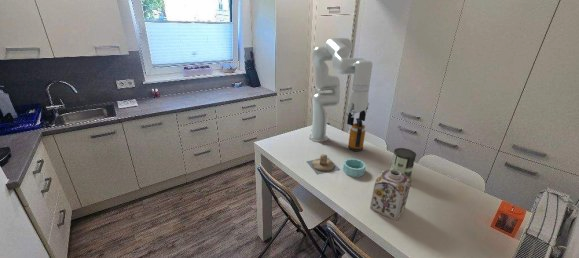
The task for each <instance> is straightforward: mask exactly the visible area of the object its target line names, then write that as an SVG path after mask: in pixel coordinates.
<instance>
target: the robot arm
mask: <svg viewBox="0 0 579 258" xmlns="http://www.w3.org/2000/svg"><path fill="white" fill-rule="evenodd" d="M352 48H353V44H352V41H351V39H349V38H348V37H331V38H329V39H327V41H326V42H325V45H321V46H316V47H314V49H313V50H312V54H311V55H312V62H313V66H314V67H313V68H314V89H316V90H317V91H322V92H318V93H315V94H313V96H312V125H311V129H310V130H311V133H310V134H309V136H308V137H309V139H310V140H311V141H313V142H317V143H321V142H322V143H323V142H327V140H328V139H329V137H328V135H327V125H328V112H327V111H326V109H325V108H335V107H338V106H339V104H340V99H341V98H340V97H341V96H340V94H341V92H340V91H341V81H340V78H339V76H337V75H335V74H331V75H329V66H328V64H327V63H326V62H331V63H332V68H333V70H335V71H336V73H338V74H340V75H353V79H352V86H351V87H352V88H351V92H350V95H349V98H348V105H347V108H346V109H345V112H346V115H347V116H346V117H347V120H346V124H347V125H349V126H352V125H353V124H355V123H354V121H355V115H356V114H358V113H359V115H358V118H359V120H361V121H362V122H364V121H365V122H366V116H367V113H368V110H369V105H370V103H369V90H370V85H371V84H370V83H371V79H372V77H371V76H372V73H373V72H372V71H373V70H372V69H373V62H372V61H371V60H366V59H365V58H363V57H362V58H361V57H350V53H351V51H352ZM324 91H330V92H324Z"/></svg>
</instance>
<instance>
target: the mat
mask: <svg viewBox="0 0 579 258" xmlns="http://www.w3.org/2000/svg"><path fill="white" fill-rule="evenodd" d="M327 159H328V160H330V161H332V160H331V159H330V157H327ZM314 160H315V159H312V160H306V163H307V164H308V165H309V167H310V168H311V169H312V170H313V171H314V173H315V174H316V175H323V174H328V173H332V172H337V171H338V172H339V171H341V168H339V166H337V164H336V163H334V168H333V169H332V170H331V171H318V170H316V169H314V168H313V166H312V162H313V161H314Z"/></svg>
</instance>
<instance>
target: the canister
mask: <svg viewBox="0 0 579 258" xmlns="http://www.w3.org/2000/svg"><path fill="white" fill-rule="evenodd" d="M355 120H356V122H355V123H353V125H351V128H350V129H349V137H348V145H347V147H348V149H349V150H351V151H354V152H360V151H362V150H363V149H364V142H365V136H366V125H365V124H364V123H363V121H362V120H359V117H358V118H356V119H355Z"/></svg>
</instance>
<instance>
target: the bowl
mask: <svg viewBox="0 0 579 258" xmlns="http://www.w3.org/2000/svg"><path fill="white" fill-rule="evenodd" d="M342 172H343V173H344V174H345V175H348V176H349V177H353V178H359V177H360V178H361V177H362V176H364V174H365V172H366V163H365V162H364V161H363V160H361V159H358V158H346V159H344V161H343V165H342Z"/></svg>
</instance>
